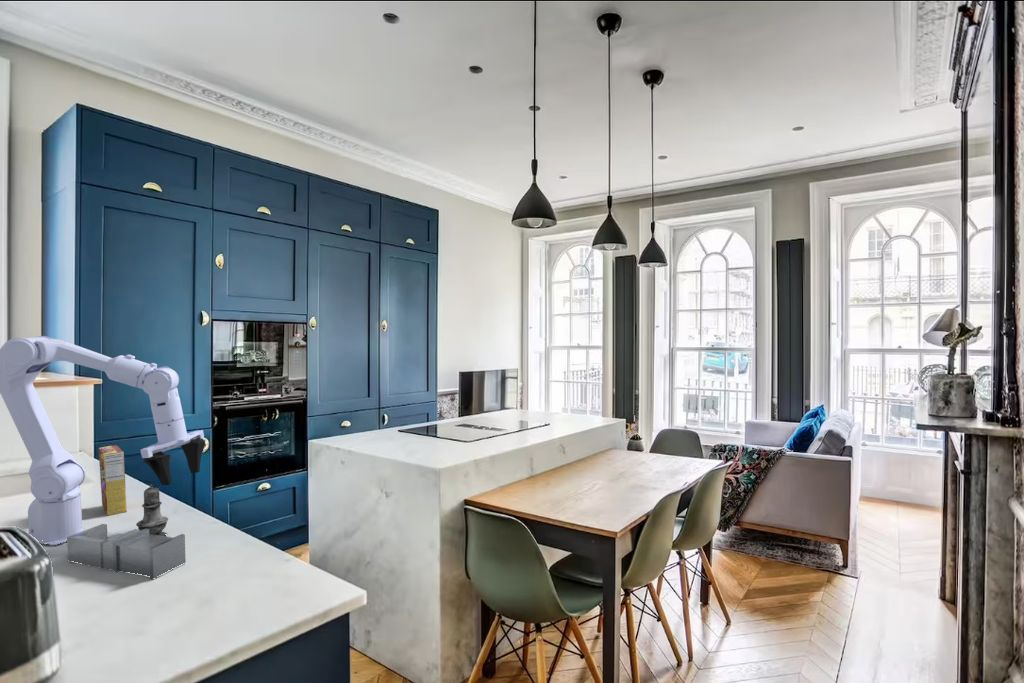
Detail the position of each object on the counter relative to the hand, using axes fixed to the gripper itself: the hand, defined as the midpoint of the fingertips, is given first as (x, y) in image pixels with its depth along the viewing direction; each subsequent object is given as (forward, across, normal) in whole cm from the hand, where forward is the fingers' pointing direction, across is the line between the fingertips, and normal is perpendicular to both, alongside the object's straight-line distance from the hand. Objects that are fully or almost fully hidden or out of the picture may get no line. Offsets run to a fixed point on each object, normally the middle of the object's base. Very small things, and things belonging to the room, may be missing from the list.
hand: (181, 478), depth 126 cm
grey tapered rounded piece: (+11, -8, +2) cm, 13 cm away
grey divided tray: (+10, -18, -4) cm, 22 cm away
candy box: (+8, +2, +27) cm, 28 cm away
